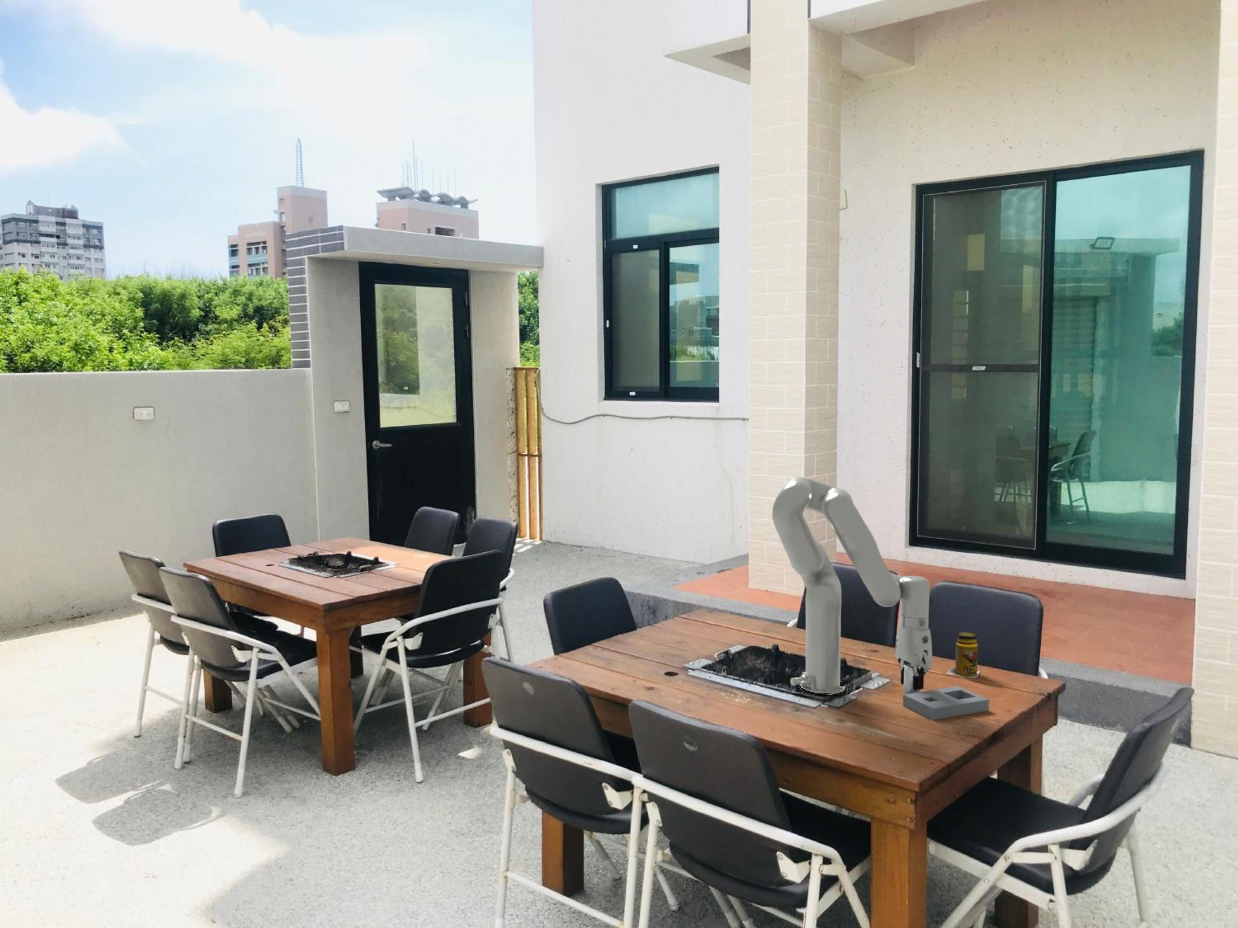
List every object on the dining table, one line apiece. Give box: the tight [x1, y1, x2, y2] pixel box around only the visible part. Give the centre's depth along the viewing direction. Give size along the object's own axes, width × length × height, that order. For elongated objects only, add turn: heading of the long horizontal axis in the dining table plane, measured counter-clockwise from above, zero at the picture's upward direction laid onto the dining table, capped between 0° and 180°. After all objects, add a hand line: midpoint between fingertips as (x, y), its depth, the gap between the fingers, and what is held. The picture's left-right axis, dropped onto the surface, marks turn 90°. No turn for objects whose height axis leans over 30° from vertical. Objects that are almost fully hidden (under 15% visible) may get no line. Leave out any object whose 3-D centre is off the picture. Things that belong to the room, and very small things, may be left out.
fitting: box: [903, 664, 921, 694], centre depth 267 cm, size 4×4×8 cm
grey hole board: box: [902, 685, 990, 721], centre depth 256 cm, size 18×12×3 cm, turn 112°
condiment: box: [945, 631, 981, 679], centre depth 285 cm, size 7×8×12 cm
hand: (912, 685), depth 267 cm, fingers closed on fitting, 4 cm apart
